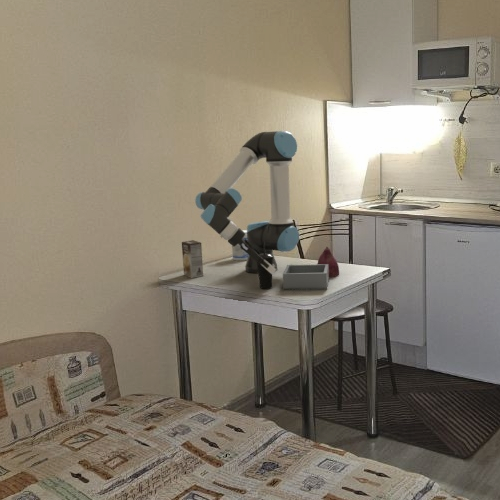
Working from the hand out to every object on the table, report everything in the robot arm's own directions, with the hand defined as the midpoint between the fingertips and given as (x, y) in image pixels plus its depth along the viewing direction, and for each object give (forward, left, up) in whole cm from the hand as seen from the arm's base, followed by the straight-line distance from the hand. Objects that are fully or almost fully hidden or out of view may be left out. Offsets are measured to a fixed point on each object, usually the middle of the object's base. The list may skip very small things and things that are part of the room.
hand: (273, 269), depth 294 cm
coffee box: (-26, -41, -8) cm, 50 cm away
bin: (-3, +14, -8) cm, 16 cm away
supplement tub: (-62, -24, -8) cm, 67 cm away
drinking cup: (+1, -3, -8) cm, 8 cm away
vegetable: (-22, +22, -8) cm, 32 cm away
